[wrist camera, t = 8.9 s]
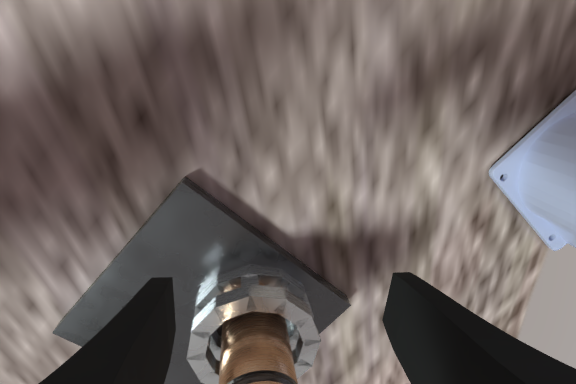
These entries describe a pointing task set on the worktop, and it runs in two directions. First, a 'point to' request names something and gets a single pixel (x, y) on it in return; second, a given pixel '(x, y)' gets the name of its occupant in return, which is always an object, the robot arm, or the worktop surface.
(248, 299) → the collar stand
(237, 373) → the brown banded cylinder
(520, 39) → the worktop surface
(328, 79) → the worktop surface
